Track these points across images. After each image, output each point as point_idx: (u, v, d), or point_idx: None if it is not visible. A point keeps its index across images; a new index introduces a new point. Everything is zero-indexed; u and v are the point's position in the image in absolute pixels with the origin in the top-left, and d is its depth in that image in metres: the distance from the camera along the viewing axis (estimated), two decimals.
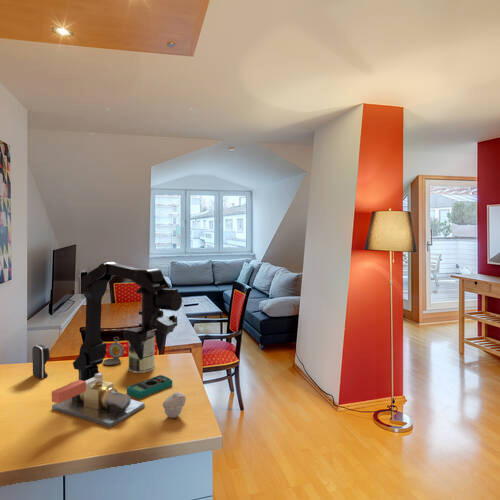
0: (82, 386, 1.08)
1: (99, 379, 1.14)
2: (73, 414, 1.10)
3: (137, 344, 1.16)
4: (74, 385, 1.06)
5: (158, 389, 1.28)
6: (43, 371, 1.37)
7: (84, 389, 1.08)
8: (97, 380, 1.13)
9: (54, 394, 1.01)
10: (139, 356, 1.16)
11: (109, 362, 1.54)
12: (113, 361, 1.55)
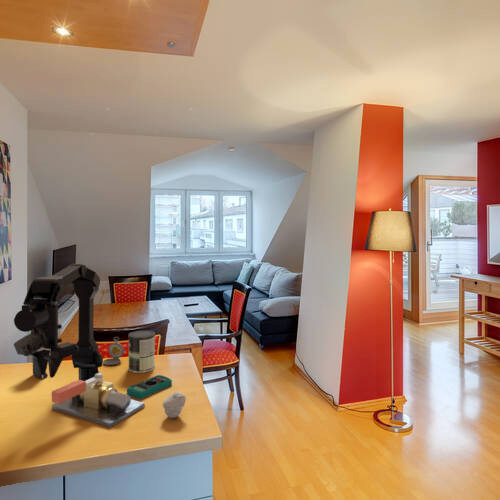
0: (82, 386, 1.08)
1: (99, 379, 1.14)
2: (73, 414, 1.10)
3: None
4: (74, 385, 1.06)
5: (158, 389, 1.28)
6: None
7: (84, 389, 1.08)
8: (97, 380, 1.13)
9: (54, 394, 1.01)
10: None
11: (109, 362, 1.54)
12: (113, 361, 1.55)
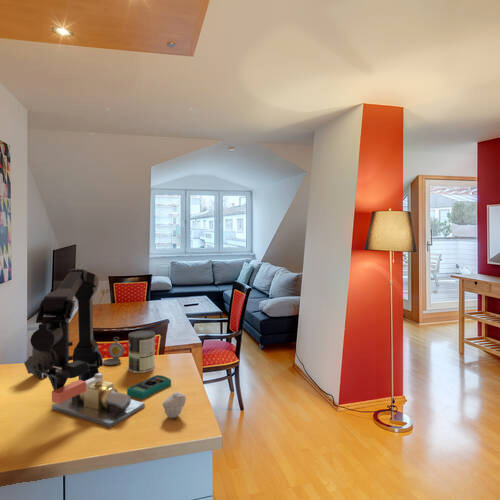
0: (82, 386, 1.08)
1: (99, 379, 1.14)
2: (73, 414, 1.10)
3: None
4: (74, 385, 1.06)
5: (158, 389, 1.28)
6: None
7: (84, 389, 1.08)
8: (97, 380, 1.13)
9: (54, 394, 1.01)
10: None
11: (109, 362, 1.54)
12: (113, 361, 1.55)
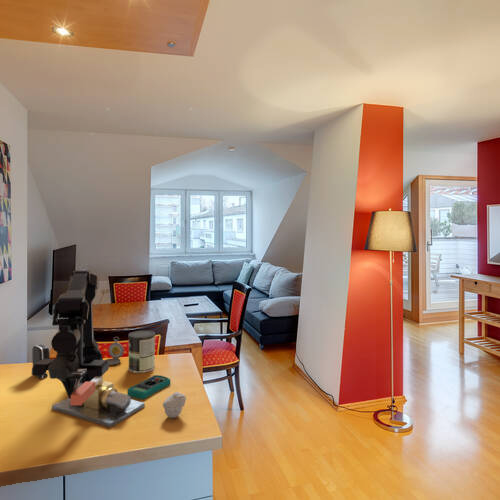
0: (93, 386, 1.08)
1: (101, 379, 1.14)
2: (73, 414, 1.10)
3: None
4: (87, 386, 1.05)
5: (159, 388, 1.28)
6: None
7: (94, 389, 1.08)
8: (100, 380, 1.13)
9: (74, 397, 1.00)
10: None
11: (109, 362, 1.54)
12: (113, 361, 1.55)
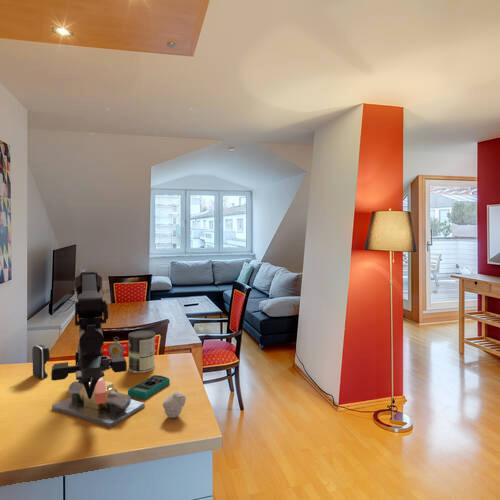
0: None
1: (102, 378, 1.15)
2: (73, 414, 1.10)
3: None
4: (102, 385, 1.06)
5: (159, 388, 1.29)
6: (43, 371, 1.37)
7: None
8: None
9: (99, 395, 1.01)
10: (87, 394, 1.03)
11: None
12: None
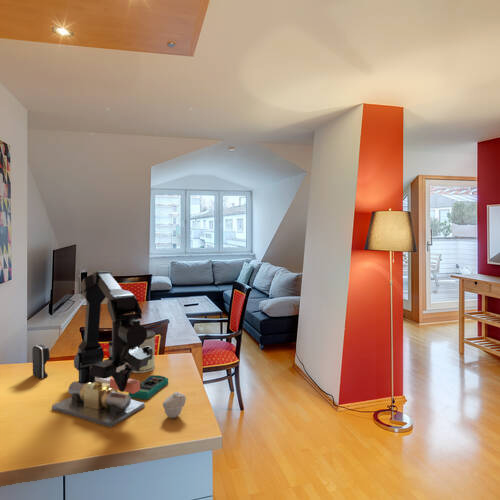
0: None
1: None
2: (73, 414, 1.10)
3: (118, 375, 1.06)
4: None
5: (159, 388, 1.29)
6: (43, 371, 1.37)
7: None
8: None
9: (136, 384, 1.08)
10: (119, 388, 1.07)
11: (109, 362, 1.54)
12: None
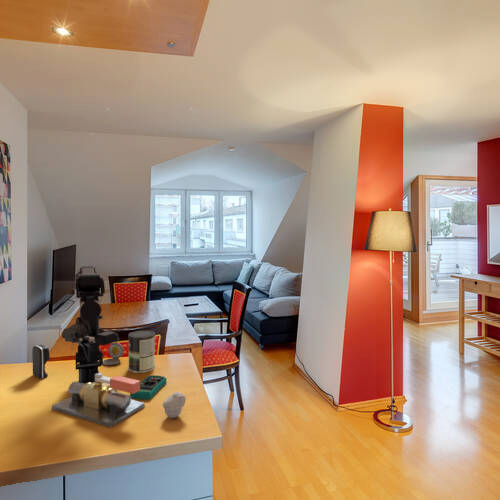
0: None
1: None
2: (73, 414, 1.10)
3: None
4: (124, 378, 1.12)
5: (159, 388, 1.29)
6: (43, 371, 1.37)
7: None
8: None
9: (136, 384, 1.08)
10: None
11: (109, 362, 1.54)
12: (113, 361, 1.55)
